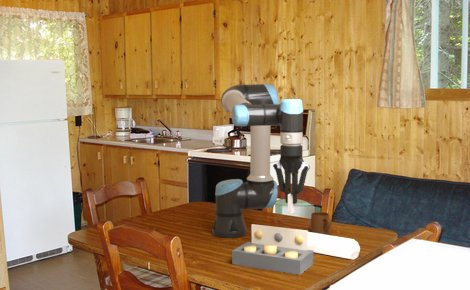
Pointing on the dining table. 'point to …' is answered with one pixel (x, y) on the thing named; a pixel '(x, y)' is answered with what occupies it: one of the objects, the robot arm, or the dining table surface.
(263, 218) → the dining table surface
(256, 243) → the console
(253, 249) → the button left
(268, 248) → the button middle
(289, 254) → the button right
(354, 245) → the crystal
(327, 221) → the mug
